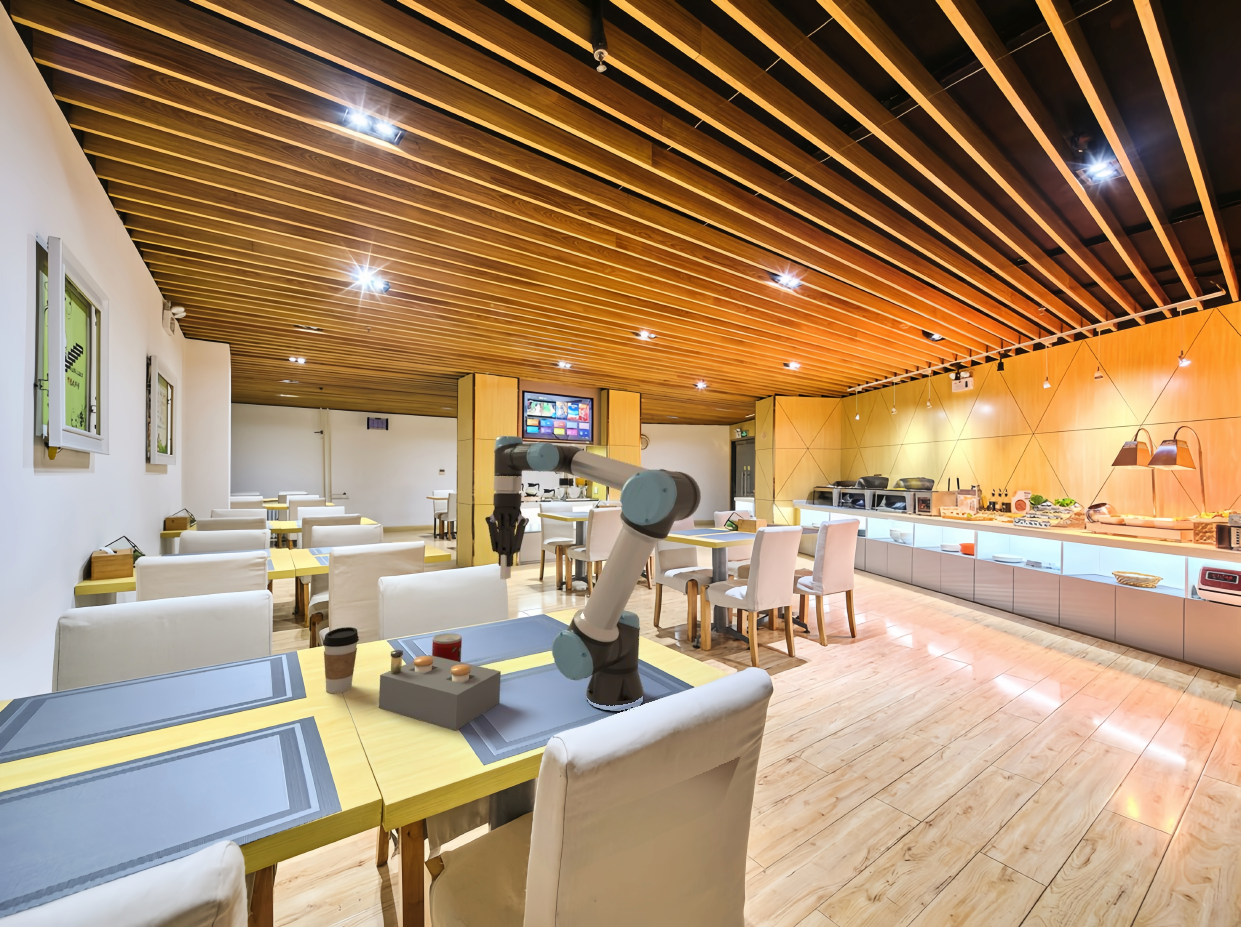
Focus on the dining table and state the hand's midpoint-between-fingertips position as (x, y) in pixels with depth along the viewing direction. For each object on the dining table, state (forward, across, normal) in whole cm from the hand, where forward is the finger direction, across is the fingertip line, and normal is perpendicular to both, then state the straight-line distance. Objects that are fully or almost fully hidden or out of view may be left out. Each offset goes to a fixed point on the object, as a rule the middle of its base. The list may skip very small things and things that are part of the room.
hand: (505, 578), depth 141 cm
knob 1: (+27, +14, +16) cm, 34 cm away
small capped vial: (+21, +18, +20) cm, 34 cm away
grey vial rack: (+30, +8, +16) cm, 34 cm away
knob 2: (+27, +2, +16) cm, 32 cm away
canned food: (+29, +19, 0) cm, 35 cm away
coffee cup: (+29, +38, +20) cm, 52 cm away
